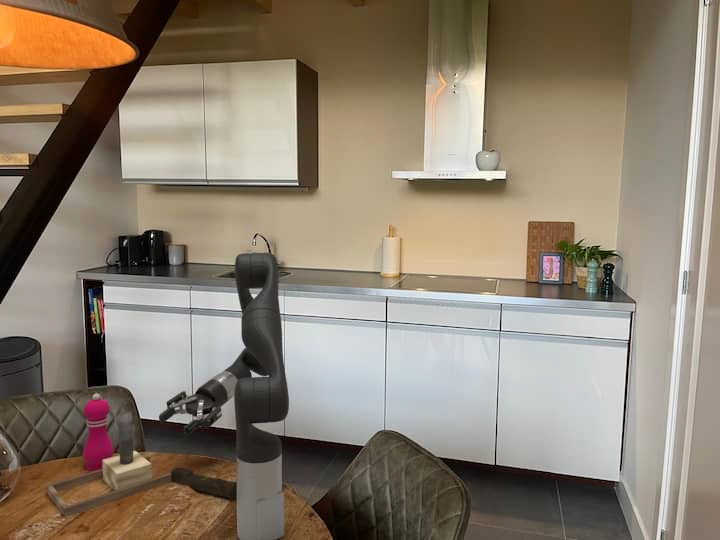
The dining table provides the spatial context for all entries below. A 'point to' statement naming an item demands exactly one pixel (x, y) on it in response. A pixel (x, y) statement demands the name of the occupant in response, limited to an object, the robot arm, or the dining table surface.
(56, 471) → the dining table surface
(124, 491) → the bay
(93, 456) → the pepper mill
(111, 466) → the joystick
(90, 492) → the dining table surface
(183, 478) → the hand tool
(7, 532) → the dining table surface
